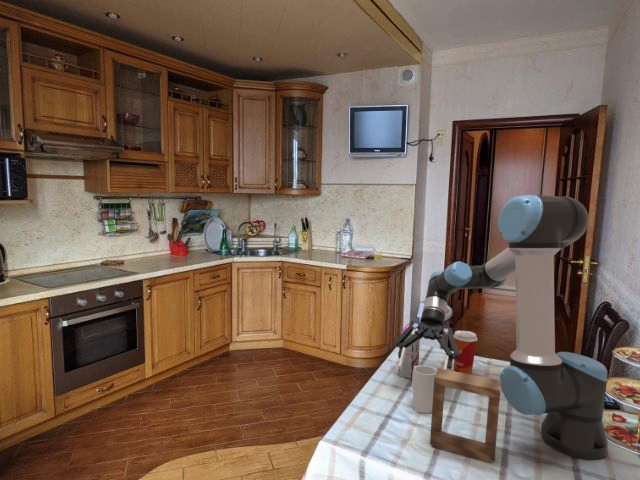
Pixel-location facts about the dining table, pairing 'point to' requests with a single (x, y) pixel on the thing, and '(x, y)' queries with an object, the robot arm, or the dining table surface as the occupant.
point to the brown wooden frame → (493, 391)
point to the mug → (423, 388)
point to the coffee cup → (465, 351)
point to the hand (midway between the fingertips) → (421, 372)
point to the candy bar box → (410, 356)
